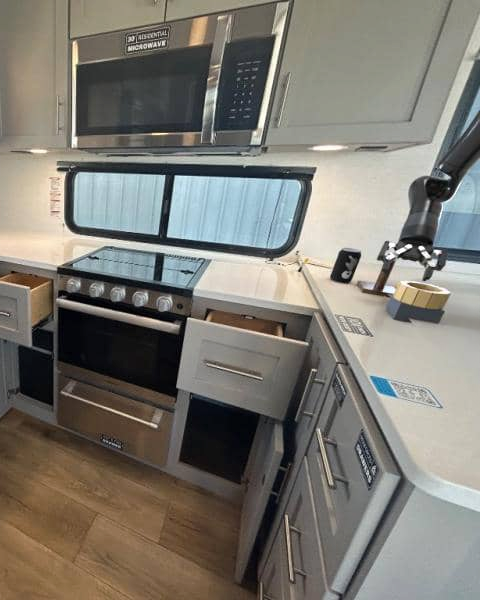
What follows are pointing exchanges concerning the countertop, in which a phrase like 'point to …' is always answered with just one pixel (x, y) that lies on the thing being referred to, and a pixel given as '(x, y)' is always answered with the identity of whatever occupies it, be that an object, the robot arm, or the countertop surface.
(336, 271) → the black printed box
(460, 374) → the countertop surface
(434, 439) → the countertop surface
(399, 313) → the block
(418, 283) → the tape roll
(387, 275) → the stand
